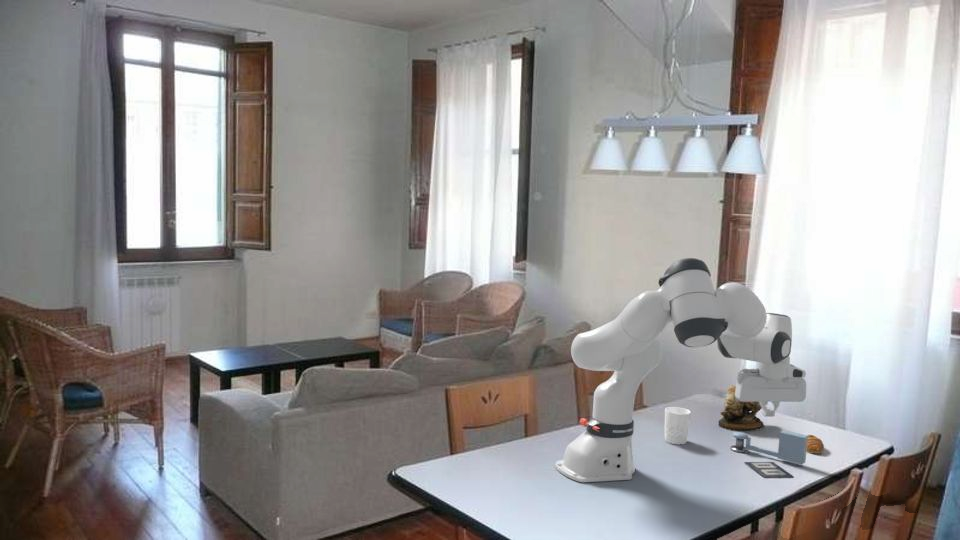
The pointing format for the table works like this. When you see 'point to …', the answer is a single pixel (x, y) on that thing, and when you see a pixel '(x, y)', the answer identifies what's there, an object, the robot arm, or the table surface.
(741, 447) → the pivot post
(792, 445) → the swing arm
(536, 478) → the table surface
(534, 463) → the table surface
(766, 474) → the label panel
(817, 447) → the pastry
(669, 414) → the white cup
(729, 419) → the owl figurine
